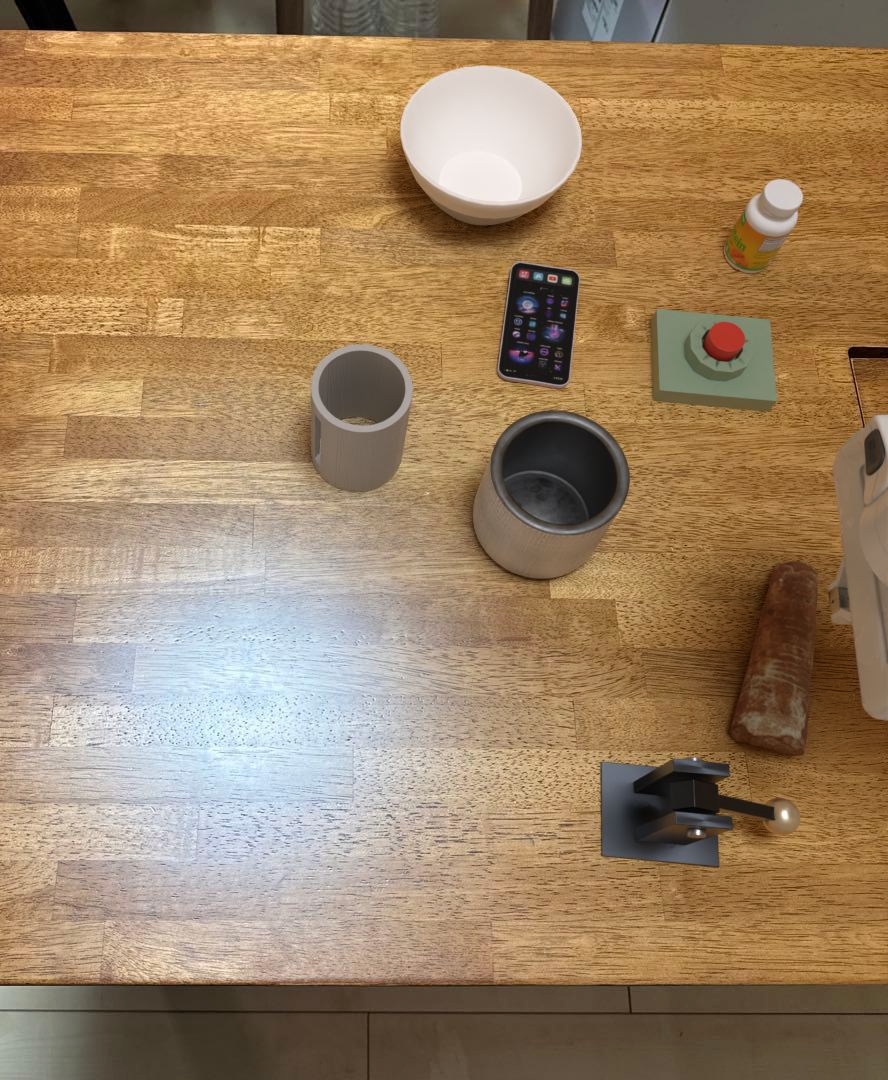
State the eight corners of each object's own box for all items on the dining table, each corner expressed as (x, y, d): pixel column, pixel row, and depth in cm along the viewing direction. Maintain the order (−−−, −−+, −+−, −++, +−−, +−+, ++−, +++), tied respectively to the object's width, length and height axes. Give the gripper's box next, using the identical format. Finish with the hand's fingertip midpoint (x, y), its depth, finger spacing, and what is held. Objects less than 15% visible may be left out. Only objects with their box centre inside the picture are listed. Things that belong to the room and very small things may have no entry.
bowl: (518, 284, 110) (533, 234, 103) (362, 210, 114) (366, 155, 106) (592, 166, 117) (612, 110, 110) (444, 99, 121) (452, 40, 113)
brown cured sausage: (717, 744, 91) (741, 730, 86) (763, 562, 99) (787, 539, 94) (786, 770, 91) (814, 758, 86) (827, 585, 98) (855, 563, 93)
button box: (761, 331, 109) (777, 308, 105) (768, 412, 105) (785, 391, 102) (650, 320, 109) (662, 298, 106) (652, 401, 105) (665, 380, 102)
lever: (776, 802, 87) (806, 799, 84) (778, 838, 85) (810, 836, 83) (666, 777, 81) (696, 772, 78) (667, 815, 80) (697, 812, 77)
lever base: (709, 774, 90) (764, 747, 80) (714, 868, 87) (771, 853, 76) (597, 763, 90) (636, 735, 80) (598, 857, 87) (639, 841, 76)
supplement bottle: (715, 238, 114) (750, 176, 105) (761, 232, 114) (799, 170, 105) (731, 278, 112) (767, 217, 103) (777, 271, 112) (817, 211, 103)
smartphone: (580, 270, 111) (569, 387, 105) (579, 274, 111) (567, 390, 105) (512, 260, 111) (496, 376, 105) (511, 263, 111) (495, 379, 106)
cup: (419, 440, 103) (431, 376, 92) (370, 508, 100) (377, 450, 88) (344, 396, 104) (347, 328, 93) (293, 461, 101) (291, 398, 90)
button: (737, 333, 105) (744, 323, 103) (739, 362, 103) (746, 353, 102) (702, 329, 105) (708, 319, 103) (704, 359, 103) (710, 349, 102)
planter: (504, 600, 96) (527, 556, 86) (450, 489, 101) (465, 434, 90) (621, 556, 98) (657, 507, 88) (563, 448, 103) (591, 390, 93)
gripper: (1020, 699, 60) (899, 746, 73) (964, 400, 68) (864, 489, 81) (914, 691, 60) (811, 739, 73) (870, 393, 68) (784, 484, 81)
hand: (838, 606), depth 77 cm, fingers closed
